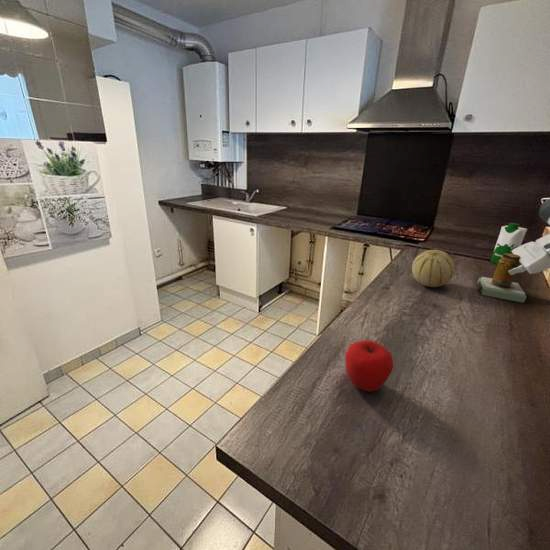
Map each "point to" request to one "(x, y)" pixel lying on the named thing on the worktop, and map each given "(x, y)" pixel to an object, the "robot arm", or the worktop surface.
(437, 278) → the cantaloupe
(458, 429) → the worktop surface
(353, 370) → the apple
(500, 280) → the condiment
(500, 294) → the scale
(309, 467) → the worktop surface
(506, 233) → the milk carton
